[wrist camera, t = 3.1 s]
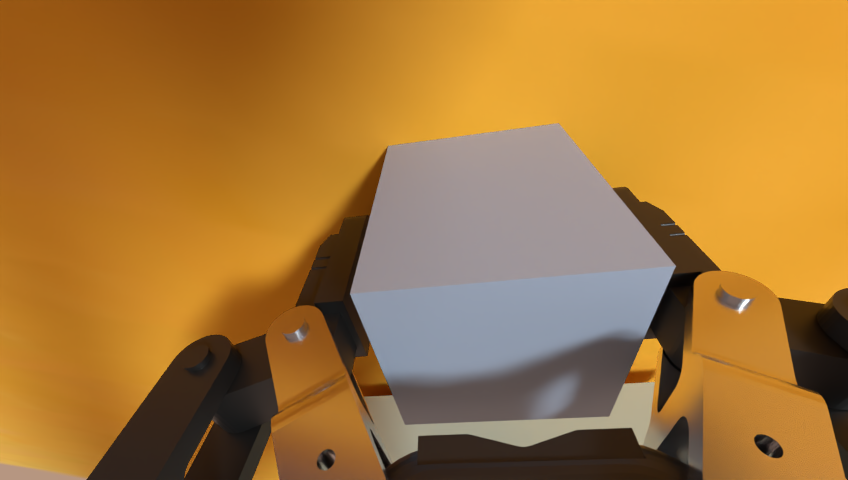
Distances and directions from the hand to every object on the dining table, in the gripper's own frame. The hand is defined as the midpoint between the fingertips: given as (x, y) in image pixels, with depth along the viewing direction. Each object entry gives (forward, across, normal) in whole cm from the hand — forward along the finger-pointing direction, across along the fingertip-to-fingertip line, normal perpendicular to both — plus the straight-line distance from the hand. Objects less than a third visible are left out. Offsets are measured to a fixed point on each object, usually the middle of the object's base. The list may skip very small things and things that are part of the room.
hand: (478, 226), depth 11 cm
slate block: (+1, 0, 0) cm, 1 cm away
